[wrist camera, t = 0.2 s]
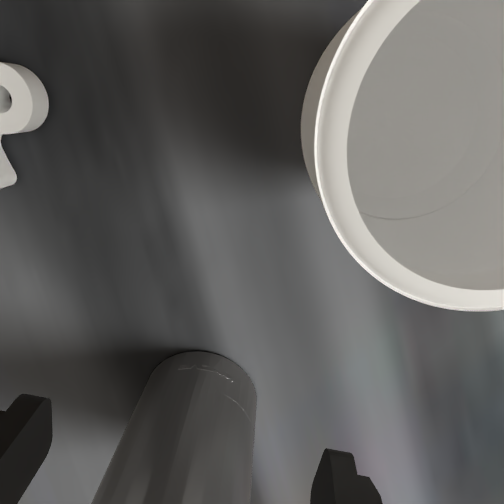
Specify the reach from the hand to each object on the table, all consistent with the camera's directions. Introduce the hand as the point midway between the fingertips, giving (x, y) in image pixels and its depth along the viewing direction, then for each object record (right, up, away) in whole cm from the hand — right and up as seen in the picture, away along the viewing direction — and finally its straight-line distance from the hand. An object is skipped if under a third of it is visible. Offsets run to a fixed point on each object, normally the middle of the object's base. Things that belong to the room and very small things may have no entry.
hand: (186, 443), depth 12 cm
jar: (+10, +14, +13) cm, 21 cm away
